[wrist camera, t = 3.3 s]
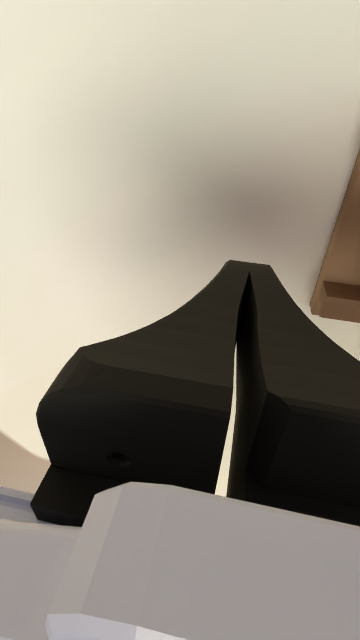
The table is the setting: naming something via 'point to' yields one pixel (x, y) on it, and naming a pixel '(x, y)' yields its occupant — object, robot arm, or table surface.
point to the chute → (342, 261)
